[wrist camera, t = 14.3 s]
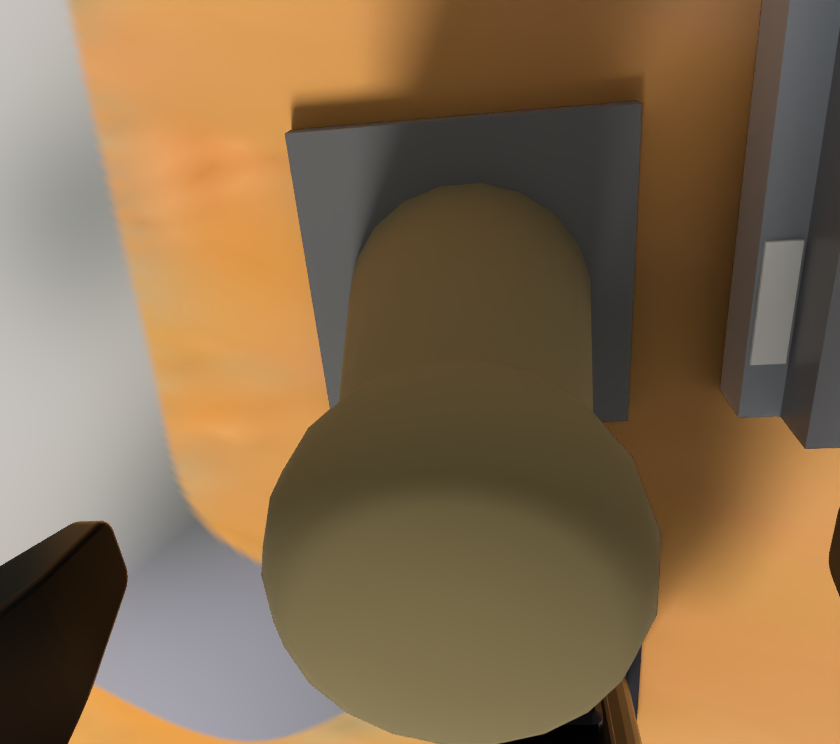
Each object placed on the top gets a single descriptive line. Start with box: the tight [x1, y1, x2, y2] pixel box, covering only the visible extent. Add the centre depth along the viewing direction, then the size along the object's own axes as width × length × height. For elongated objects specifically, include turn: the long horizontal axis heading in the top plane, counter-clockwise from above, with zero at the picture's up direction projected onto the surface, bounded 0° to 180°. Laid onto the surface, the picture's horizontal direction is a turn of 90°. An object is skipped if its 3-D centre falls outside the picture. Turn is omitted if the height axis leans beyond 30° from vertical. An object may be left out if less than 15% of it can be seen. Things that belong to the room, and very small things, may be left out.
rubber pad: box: [285, 101, 642, 422], centre depth 18 cm, size 8×8×1 cm
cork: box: [261, 183, 661, 744], centre depth 13 cm, size 6×6×11 cm
